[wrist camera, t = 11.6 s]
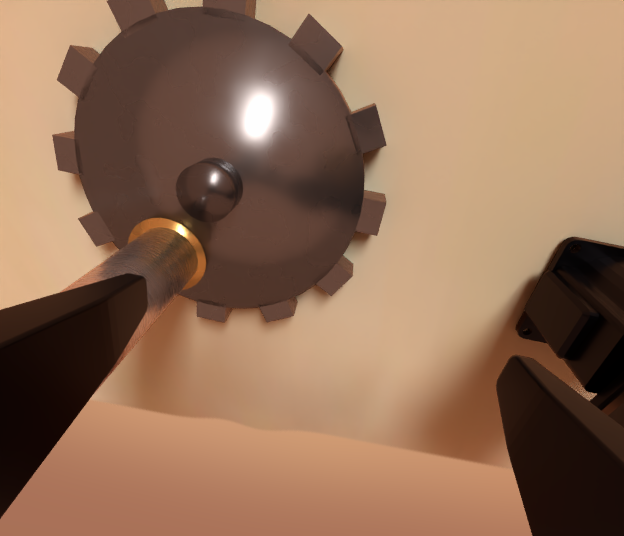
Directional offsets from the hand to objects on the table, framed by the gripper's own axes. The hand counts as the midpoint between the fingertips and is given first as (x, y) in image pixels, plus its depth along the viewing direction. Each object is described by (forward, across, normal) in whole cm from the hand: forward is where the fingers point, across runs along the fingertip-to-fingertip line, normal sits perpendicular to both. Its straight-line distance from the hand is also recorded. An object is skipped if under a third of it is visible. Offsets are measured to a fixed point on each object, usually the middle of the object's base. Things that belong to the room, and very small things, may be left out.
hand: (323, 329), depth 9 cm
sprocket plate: (+12, +6, 0) cm, 14 cm away
